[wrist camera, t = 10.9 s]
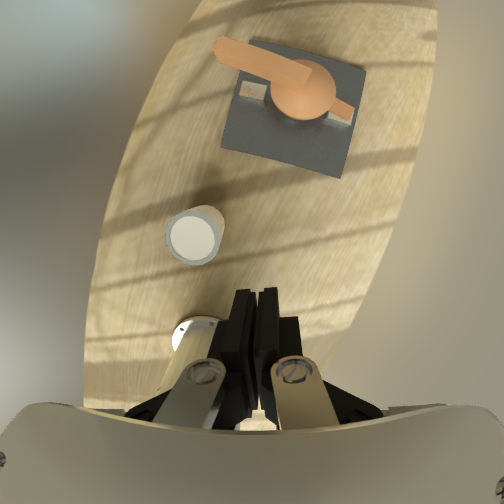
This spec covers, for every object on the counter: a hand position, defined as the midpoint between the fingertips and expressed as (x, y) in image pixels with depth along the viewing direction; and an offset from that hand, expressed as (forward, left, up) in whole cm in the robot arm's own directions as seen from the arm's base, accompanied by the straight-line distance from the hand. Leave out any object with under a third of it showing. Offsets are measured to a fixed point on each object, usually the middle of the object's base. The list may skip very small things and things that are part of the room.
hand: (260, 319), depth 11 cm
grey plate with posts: (+14, 0, -27) cm, 30 cm away
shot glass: (-5, +8, -27) cm, 29 cm away
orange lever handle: (+14, +2, -19) cm, 24 cm away
